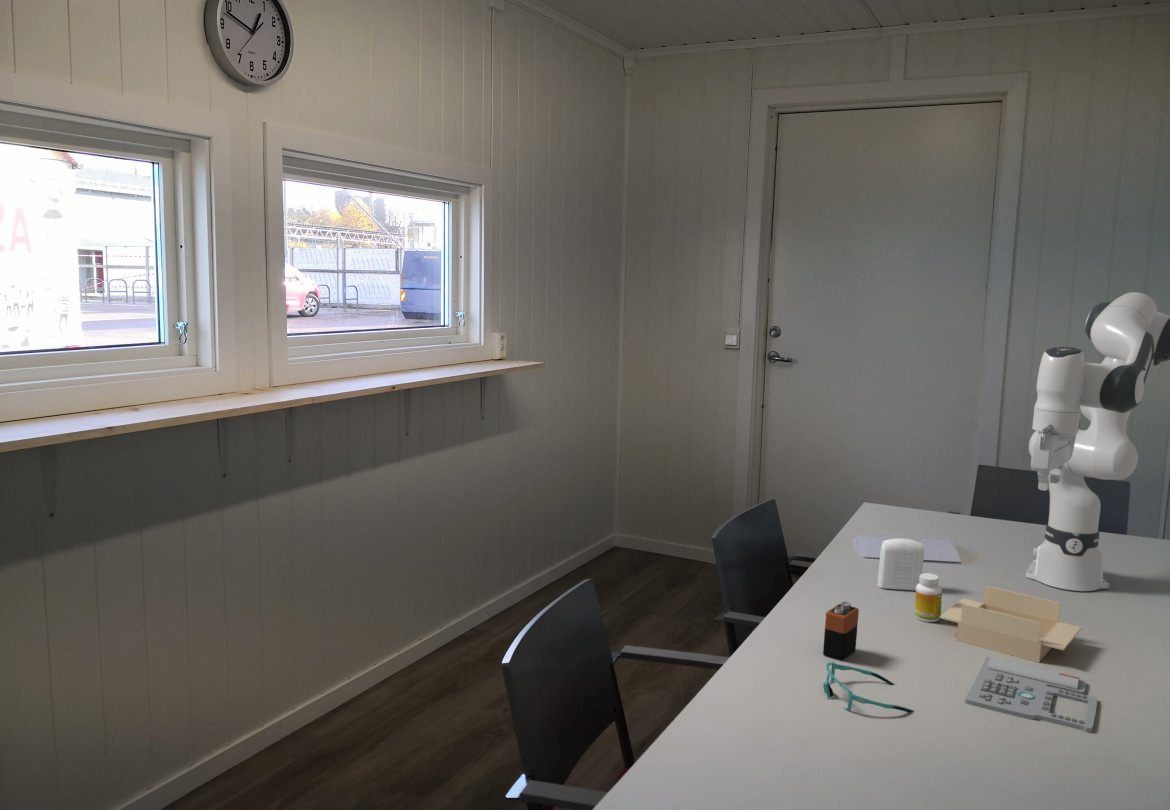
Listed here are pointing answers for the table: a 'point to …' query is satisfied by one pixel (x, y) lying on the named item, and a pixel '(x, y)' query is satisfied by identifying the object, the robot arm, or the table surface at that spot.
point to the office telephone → (1029, 692)
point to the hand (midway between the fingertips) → (1049, 486)
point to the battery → (840, 631)
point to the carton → (1011, 624)
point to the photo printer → (900, 564)
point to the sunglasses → (851, 695)
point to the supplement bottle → (928, 598)
